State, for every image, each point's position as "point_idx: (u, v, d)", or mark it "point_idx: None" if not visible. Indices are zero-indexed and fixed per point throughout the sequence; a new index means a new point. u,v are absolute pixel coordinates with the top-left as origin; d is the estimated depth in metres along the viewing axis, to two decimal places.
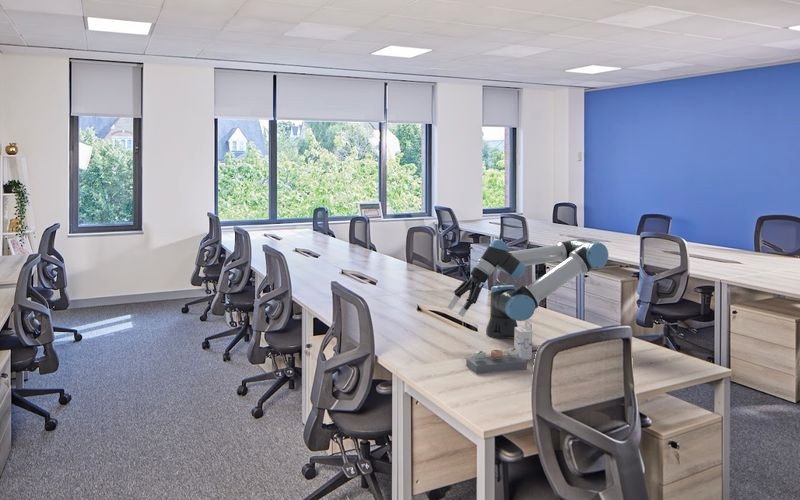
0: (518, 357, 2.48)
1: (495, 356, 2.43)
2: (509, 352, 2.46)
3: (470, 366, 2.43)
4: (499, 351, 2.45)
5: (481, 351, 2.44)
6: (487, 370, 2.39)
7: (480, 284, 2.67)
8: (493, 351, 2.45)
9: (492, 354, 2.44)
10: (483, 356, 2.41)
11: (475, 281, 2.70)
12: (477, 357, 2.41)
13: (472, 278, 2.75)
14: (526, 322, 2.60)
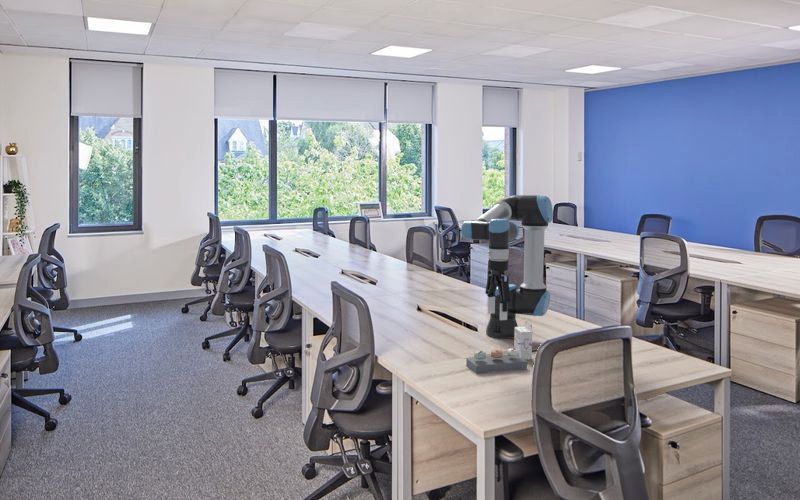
0: (518, 357, 2.48)
1: (495, 356, 2.43)
2: (509, 352, 2.46)
3: (470, 366, 2.43)
4: (499, 351, 2.45)
5: (481, 351, 2.44)
6: (487, 370, 2.39)
7: (504, 278, 2.35)
8: (493, 351, 2.45)
9: (492, 354, 2.44)
10: (483, 356, 2.41)
11: (498, 275, 2.38)
12: (477, 357, 2.41)
13: (493, 271, 2.43)
14: (526, 322, 2.60)
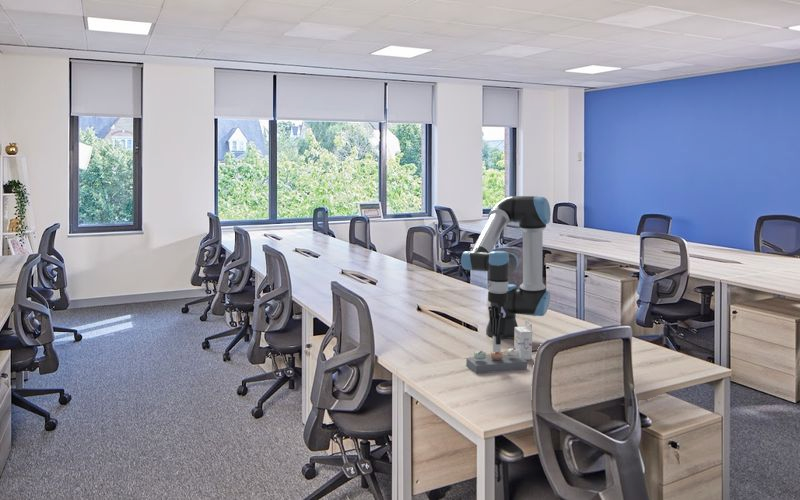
0: (518, 357, 2.48)
1: (495, 357, 2.43)
2: (509, 352, 2.46)
3: (470, 366, 2.43)
4: (499, 352, 2.45)
5: (481, 351, 2.44)
6: (487, 370, 2.39)
7: (503, 315, 2.37)
8: (493, 352, 2.45)
9: (492, 355, 2.44)
10: (483, 356, 2.41)
11: (498, 307, 2.39)
12: (477, 357, 2.41)
13: None
14: (526, 322, 2.60)
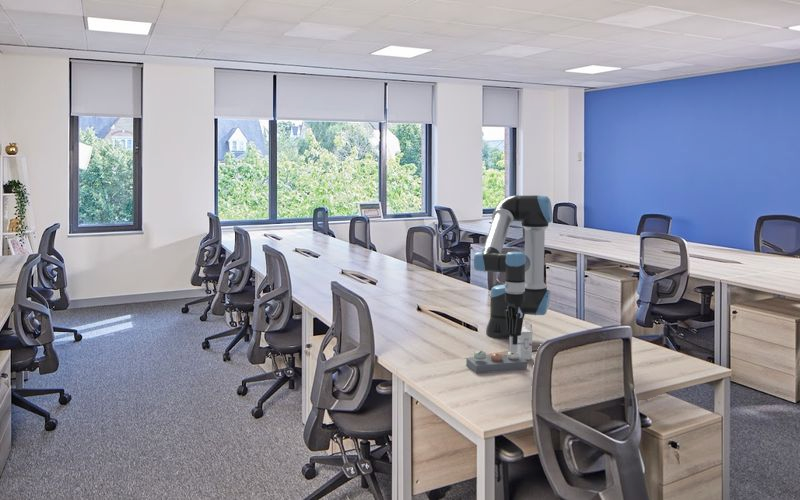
0: None
1: (495, 359, 2.43)
2: (509, 355, 2.46)
3: (470, 366, 2.43)
4: (499, 354, 2.45)
5: (481, 351, 2.44)
6: (487, 370, 2.39)
7: (520, 316, 2.39)
8: (493, 354, 2.45)
9: (492, 357, 2.44)
10: (483, 356, 2.41)
11: (515, 307, 2.41)
12: (477, 357, 2.41)
13: None
14: (526, 322, 2.60)
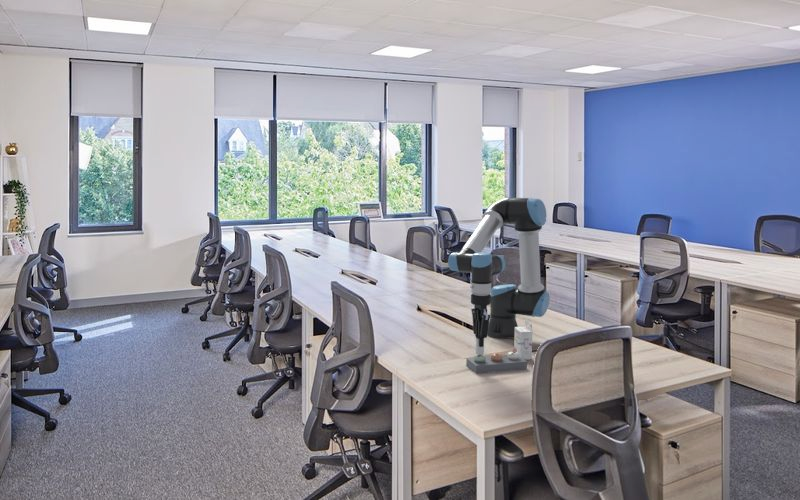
0: None
1: (495, 359, 2.43)
2: (509, 355, 2.46)
3: (470, 366, 2.43)
4: (499, 354, 2.45)
5: None
6: (487, 370, 2.39)
7: (486, 318, 2.35)
8: (493, 354, 2.45)
9: (492, 357, 2.44)
10: (483, 359, 2.41)
11: (481, 309, 2.38)
12: (477, 360, 2.42)
13: None
14: (526, 322, 2.60)
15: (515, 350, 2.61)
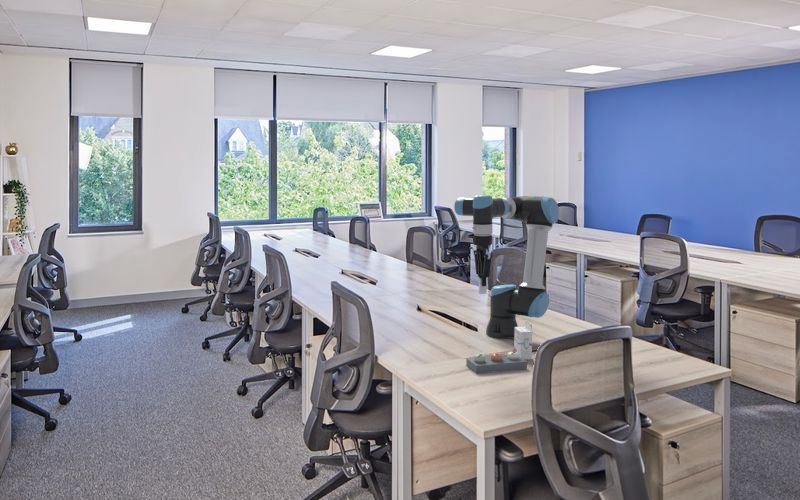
0: None
1: (495, 359, 2.43)
2: (509, 355, 2.46)
3: (470, 366, 2.43)
4: (499, 354, 2.45)
5: (481, 354, 2.44)
6: (487, 370, 2.39)
7: (488, 257, 2.44)
8: (493, 354, 2.45)
9: (492, 357, 2.44)
10: (483, 359, 2.42)
11: (483, 249, 2.46)
12: (477, 360, 2.42)
13: None
14: (526, 322, 2.60)
15: (515, 350, 2.61)
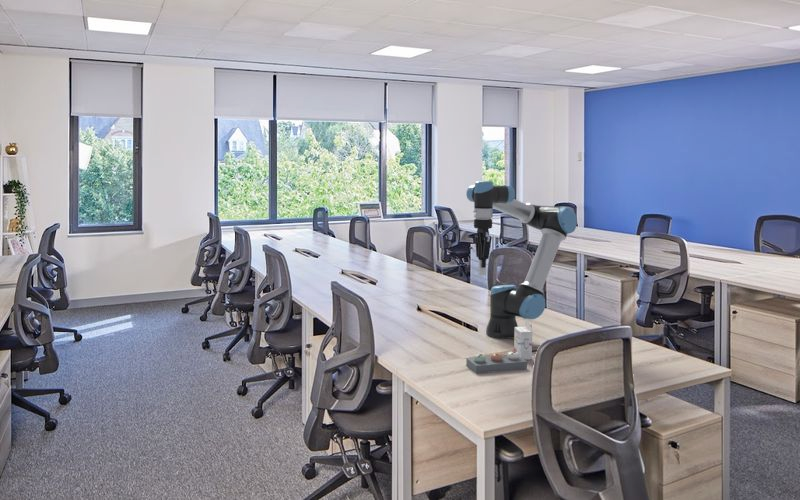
0: None
1: (495, 359, 2.43)
2: (509, 355, 2.46)
3: (470, 366, 2.43)
4: (499, 354, 2.45)
5: (481, 354, 2.44)
6: (487, 370, 2.39)
7: (488, 239, 2.57)
8: (493, 354, 2.45)
9: (492, 357, 2.44)
10: (483, 359, 2.42)
11: (483, 232, 2.59)
12: (477, 360, 2.42)
13: (478, 228, 2.64)
14: (526, 322, 2.60)
15: (515, 350, 2.61)
